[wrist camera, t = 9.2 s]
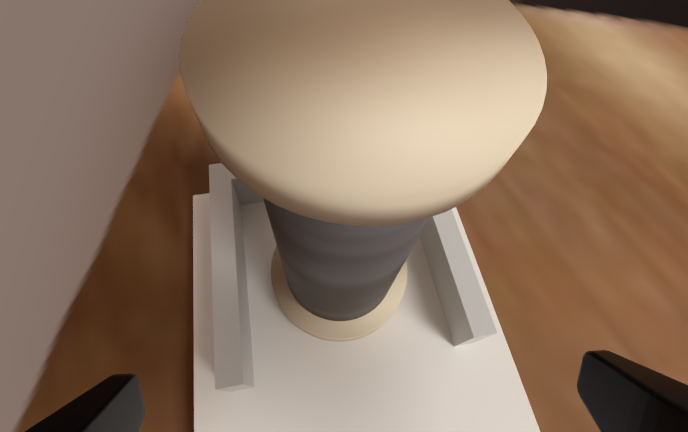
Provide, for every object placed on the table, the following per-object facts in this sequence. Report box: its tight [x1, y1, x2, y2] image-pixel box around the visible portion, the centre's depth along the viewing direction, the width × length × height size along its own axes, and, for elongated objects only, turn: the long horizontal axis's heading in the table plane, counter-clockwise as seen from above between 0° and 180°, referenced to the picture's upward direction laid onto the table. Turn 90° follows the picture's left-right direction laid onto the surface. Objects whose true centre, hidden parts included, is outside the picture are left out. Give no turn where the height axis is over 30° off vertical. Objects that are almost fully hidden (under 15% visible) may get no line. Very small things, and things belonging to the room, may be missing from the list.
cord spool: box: [179, 0, 547, 341], centre depth 12 cm, size 6×6×13 cm
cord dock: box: [193, 163, 540, 432], centre depth 16 cm, size 17×14×4 cm
